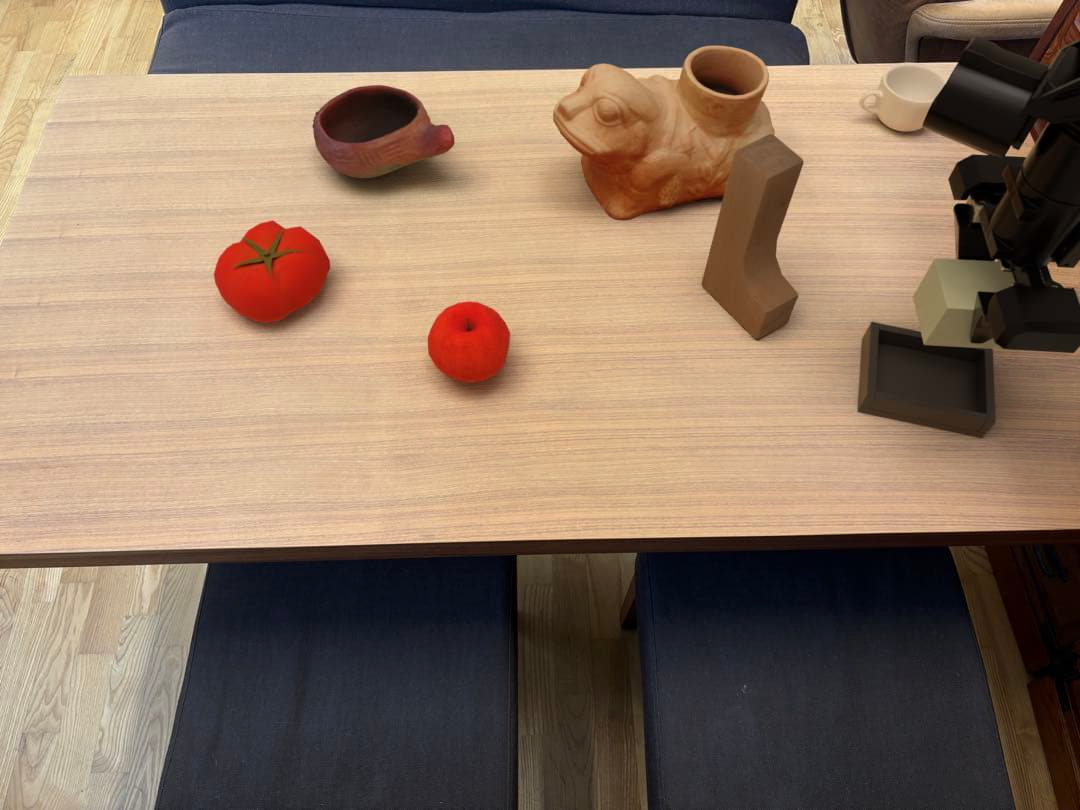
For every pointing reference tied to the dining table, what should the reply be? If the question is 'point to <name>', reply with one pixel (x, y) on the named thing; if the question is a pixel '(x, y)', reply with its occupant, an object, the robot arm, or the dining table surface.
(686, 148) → the ceramic vessel
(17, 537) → the dining table surface
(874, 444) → the dining table surface
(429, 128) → the bowl
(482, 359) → the apple
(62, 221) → the dining table surface
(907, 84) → the teacup
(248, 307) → the tomato
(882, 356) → the mount
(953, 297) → the olive green block
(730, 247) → the wooden block
